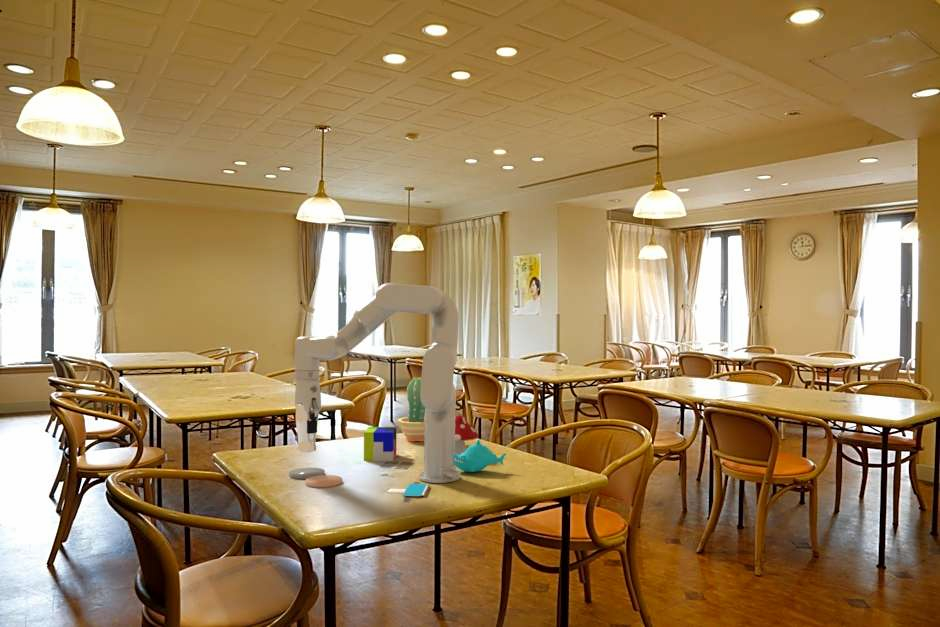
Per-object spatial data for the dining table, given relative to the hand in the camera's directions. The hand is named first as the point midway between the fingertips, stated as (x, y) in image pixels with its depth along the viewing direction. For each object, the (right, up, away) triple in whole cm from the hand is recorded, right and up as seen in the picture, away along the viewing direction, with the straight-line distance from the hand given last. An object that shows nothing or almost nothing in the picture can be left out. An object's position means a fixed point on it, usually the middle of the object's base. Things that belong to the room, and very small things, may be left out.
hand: (306, 430), depth 210 cm
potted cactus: (+30, -14, +57) cm, 66 cm away
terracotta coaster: (+7, -14, -9) cm, 18 cm away
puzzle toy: (+20, -14, +25) cm, 35 cm away
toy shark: (+55, -14, +5) cm, 57 cm away
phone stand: (+34, -15, -18) cm, 42 cm away
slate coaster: (0, -14, 0) cm, 14 cm away
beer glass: (0, -6, 0) cm, 6 cm away
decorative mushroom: (+48, -14, +26) cm, 57 cm away
